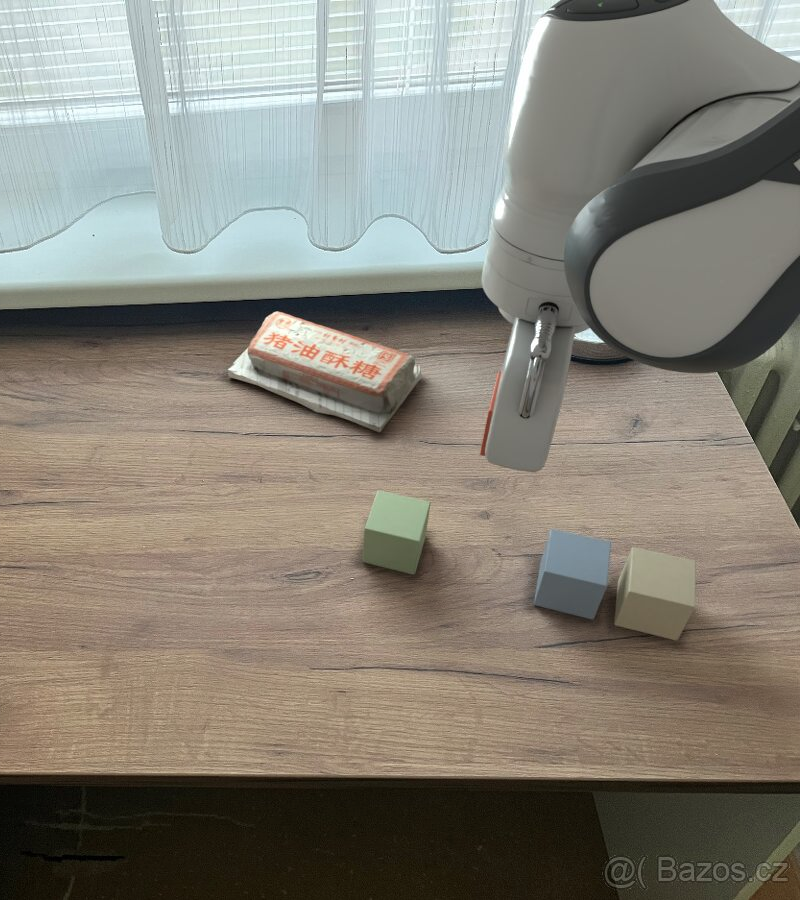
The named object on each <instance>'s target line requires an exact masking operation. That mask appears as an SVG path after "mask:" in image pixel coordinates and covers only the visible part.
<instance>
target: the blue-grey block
mask: <svg viewBox="0 0 800 900" xmlns="http://www.w3.org/2000/svg"><path fill="white" fill-rule="evenodd" d="M611 548H612V541H610V540H604V539H600V538H595V537H590V536H586V535H581V534H577V533H573V532H569V531H564V530H560V529H555V528H550V530H549V533H548V536H547V540H546V544H545V547H544V550H543V553H542V557H541V560H540V563H539V569H538V575H537V576H538V577H537V581H536V587H535V588H536V589H535V593H534V595H535V596H534V600H533V605H534V606H536V607H540V608H544V609H548V610H552V611H556V612H560V613H564V614H568V615H572V616H576V617H580V618H584V619H587V620H594V619H595V617H596V614H597V612H598V609H599V607H600V605H601V602H602V601H603V598H604V595H605V594H606V593H605V592H606V591H607V587H608V582H609V581H608V580H609V571H610V562H611V561H610V560H611V550H612V549H611Z"/></svg>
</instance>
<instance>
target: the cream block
mask: <svg viewBox="0 0 800 900" xmlns="http://www.w3.org/2000/svg"><path fill="white" fill-rule="evenodd" d="M696 575H697V561H696V560H693V559H691V558H686V557H680V556H676V555H672V554H667V553H663V552H658V551H654V550H649V549H644V548H641V547H637V546H636V547H635V546H632V547H631V548H630V551H629V554H628V555H627V558H626V560H625V563H624V565H623V568H622V570H621V573H620V575H619V578H618V580H617V586H616V587H617V588H616V599H615V610H614V612H615V613H614V621H613V622H614V623H613V624H614V626H616V627H620V628H623V629H628V630H633V631H637V632H640V633H643V634H644V633H645V634H647V635H652V636H656V637H661V638H664V639H668V640H673V641H678V640H679V639H680V636H681V635H682V633H683V631H684V629H685V627H686V625H687V624H688V622H689V620H690V618H691V616H692V614H693V612H694V610H695V609H696V593H697V592H696V591H697V588H696V586H697V576H696Z"/></svg>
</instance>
